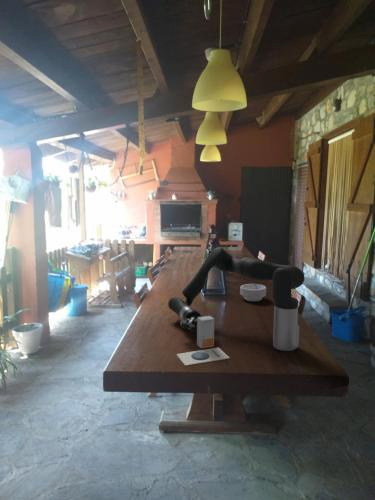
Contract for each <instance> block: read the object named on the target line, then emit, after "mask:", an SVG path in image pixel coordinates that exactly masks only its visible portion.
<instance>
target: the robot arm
mask: <svg viewBox="0 0 375 500" xmlns="http://www.w3.org/2000/svg"><path fill="white" fill-rule="evenodd" d="M213 267H214V268H216V269H218V271H221V272H225V273H226V272H227V273H233V274H237V275H239V276H241V277H246V278H248V279H252V280H256V281H271V282H272V298H273V301H274V302H273V303H274V307H273V310H274V311H273V335H272V338H273V339H272V346H273V348H274V349H276V350H278V351H279V350H280V351H285V352H291V351H295V350H297V349H298V348H299V342H300V341H299V339H300V325H299V324H298V314H299V312H298V311H299V300H298V299H297V297H296V298H295V297H293V296H292V290H294V289H298V288H299V287H301V286H302V285H303V284H304V283H305V275H304V273H303V270H301V269H300V268H299V267H297V266H294V265H285V264H278V263H275V262H270V261H267V260H263V259H259V258H256V257H251V256H245V257H243V258H241V259H240V258H236V257H234V256H233V255H231V254H230V253H229V252H227V251H226V250H225V249H224V248H222V247H220V246H219V247H215V248H213V250H211V251H210V253H209V254H208V256H207V257H206V259H205V260H204V262H203V264H202V265H201V266H200V268H199V270H198V272H197V273H196V274H195V275H194V276H193V278H192V280H191V281H190V282H189V283H188V284H187V285H186V286H185V288H184V289H183V290H182V296H184V297H185V300H183V299H182V298H180V297H178V296H172V297H170V299H169V300H168V303H167V305H168V306H167V307H168V308H169V309H170V310H172V312H173V313H175V314H176V315H177V316H178V317H179V318H180V323H179V324H180V326H181V327H182V329H184V330H187V329H188V330H190V331H192V332H195V331H196V328H195V327H197V318H199V317H202V315H201V313H200V312H199V311H198V310H196V309H195V308H194V307H193V306H192V304H193V302H194V300H195V299H196V297H198V295H199V294H200V293H201V292H202V291H203V289H204V287H205V285H206V281H207V278H208V274H209V272H210V271H211V270H212V268H213ZM214 322H215V318H214ZM214 326H215V323H214Z"/></svg>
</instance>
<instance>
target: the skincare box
mask: <svg viewBox="0 0 375 500" xmlns="http://www.w3.org/2000/svg"><path fill="white" fill-rule="evenodd" d="M214 319H215V318H214V317H213V316H211V315H205V316H201V317H199V318H197V326H196V345H197V347H199V348H200V349H205V348H206V349H207V348H214V346H215V325H214V324H215V321H214Z"/></svg>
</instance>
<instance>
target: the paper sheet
mask: <svg viewBox="0 0 375 500" xmlns="http://www.w3.org/2000/svg"><path fill="white" fill-rule="evenodd" d="M175 355H176V356H177V358H179V360H180V361H181V362H182V364H183V365H184V366H185V367H186V366H192V365H198V364H203V363H204V364H205V363H210V362H216V361H222V360H228V359H230V356H228V355H227V354H226V353H225V352H224V351H223V350H222V349H221V348H220V347H211V348H208V349H207V348H206V349H202V350H193V351H187V352H182V353H181V352H180V353H176V354H175Z"/></svg>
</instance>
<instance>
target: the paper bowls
mask: <svg viewBox="0 0 375 500" xmlns="http://www.w3.org/2000/svg"><path fill="white" fill-rule="evenodd" d="M239 293H240V295H241V296H242V297H243V299H244V300H245V301H247V302H260V301H262V300H263V297H266V296H267V286H265V285H263V284H259V283H247V284H242V285H240V290H239Z"/></svg>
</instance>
